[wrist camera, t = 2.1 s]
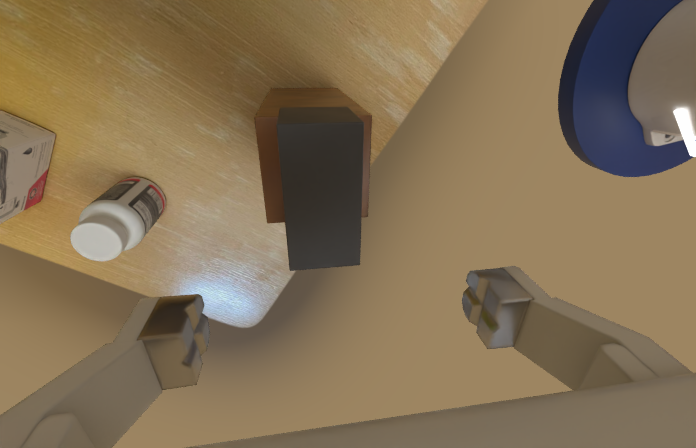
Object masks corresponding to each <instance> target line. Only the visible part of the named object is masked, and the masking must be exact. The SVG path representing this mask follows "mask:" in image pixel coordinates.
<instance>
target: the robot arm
mask: <svg viewBox="0 0 696 448" xmlns="http://www.w3.org/2000/svg"><path fill="white" fill-rule="evenodd" d="M628 102H629V107H630V110H631V112H632V114H633V115H634V117H635V118H636V119H637V120H638V122H639V123H640V124H641V126H642V128H643V136H644V140H645V143H646V144H647V145H652V146H661V145H665V144H669V143H673V142H677V141H681V140H685V143H686V146H687V148H688V151H689V154H690V156H694V157H696V142H695V140H696V0H683V1H681V2H680V3H679V4H677V5H676V6H675V7H674V8H672V9H671V10H670V11H669V12H668V13H667V14H666V15H665V16H664V17H663V18H662V19H661V20H660V21H659V22H658V24H657V25H656V26H655V27H654V28H653V30H652V31H651V32H650V34H649V35H648V37H647V38H646V40H645V41H644V43H643V45H642V47H641V48H640V50H639V52H638V54H637V57H636V59H635V61H634V64H633V67H632V70H631V73H630V77H629V83H628ZM694 139H695V140H694ZM466 282H467V284H468V285H469V287H468V288H467V289H466V290H465V291H464V293H463V298H462V304H463V310H464V312H465V315H466V317H467V319H468V320H469V322H471V323H473V324H474V325H476V326H477V334H478V336H479V337H480V339H481V340H482V342H483V343H484V345H485V346H486V347H487V349H495V348H506V347H514V348H515V349H516V350H517V351H519V352H520V353H522V354H523V355H524V356H526V357H527V358H529V359H530V360H532V361H533V362H534V363H536V364H537V365H539V366H540V367H541V368H543V369H544V370H546V371H547V372H548V373H550V374H551V375H552V376H554V377H556V378H557V379H558V380H559V381H561V382H562V383H564V384H565V385H567V386H568V387H569V388H571V389H572V390H574V391H567V392H560V393H554V394H547V395H541V396H533V397H526V398H519V399H513V400H506V401H499V402H492V403H486V404H479V405H472V406H465V407H459V408H452V409H446V410H438V411H432V412H425V413H418V414H411V415H404V416H397V417H391V418H384V419H377V420H370V421H364V422H357V423H351V424H343V425H336V426H329V427H322V428H316V429H309V430H302V431H295V432H288V433H282V434H275V435H268V436H262V437H254V438H248V439H241V440H234V441H227V442H220V443H214V444H207V445H200V446H193V447H186V448H696V373H693V372H691V371H690V370H689V369H688V368H686V367H685V366H684V365H682V363H680V362H679V361H678V360H677V359H675V358H674V357H673V356H672V355H670V354H669V353H668V352H667V351H665V350H664V349H663V348H662V347H660V346H659V345H658V344H656V343H655V342H654V341H653V340H652V339H650V338H649V337H647V336H644V335H642V334H640V333H637V332H635V331H633V330H630V329H628V328H626V327H623V326H621V325H619V324H616V323H614V322H612V321H609V320H607V319H605V318H603V317H600V316H597V315H596V314H593V313H591V312H589V311H586V310H584V309H581V308H579V307H577V306H575V305H572V304H570V303H567V302H565V301H563V300H561V299H558V298H551V297H550V296H549V295H548V294H547V293H545V291H543V290H542V289H541V288H540V287H539V286H538V285H537V284H536V283H535V282H534V281H533V280H532V279H531V278H530V277H529V276H528V275H527V274H525V273H524V272H523V271H522V270H521V269H520V268H518V267H516V266H510V267H502V268H496V269H485V270H474V271H470V272H469V273H468V275H467V279H466ZM203 308H204V302H203V299H202V296H201V295H199V294H195V295H180V296H165V297H154V298H143V299H141V300H140V301H138V303H137V304H136V306H135V308H134V309H133V311H132V312H131V314H130V316H129V317H128V319H127V320H126V322H125V324H124V325H123V327H122V329H121V330H120V332H119V333H118V335H117V336H116V338H115V340H114V341H113V343H109V344H105V345H103V346H102V347H101V348H99V349H98V350H96V351H95V352H93V353H92V354H90V355H89V356H87V357H86V358H84V359H83V360H81V361H80V362H78V363H77V364H75V365H74V366H72V367H71V368H70V369H68V370H67V371H65V372H64V373H62V374H61V375H59V376H58V377H56V378H55V379H53V380H52V381H50V382H49V383H47V384H46V385H44V386H43V387H42V388H40V389H39V390H37V391H36V392H34V393H33V394H31V395H30V396H28V397H27V398H25V399H24V400H22V401H21V402H19V403H18V404H16V405H15V406H13V407H12V408H10V409H9V410H7V411H6V412H4V413H3V414H2V415H0V448H112V447H113V446H114V445H115V444H116V443H117V441H118V440H119V439H120V438H121V437H122V436H123V435H124V434H125V433H126V432H127V430H128V429H129V428H130V427H131V426H132V425H133V424H134V423H135V422H136V420H137V419H138V418H139V417H140V416H141V415H142V414H143V413H144V412H145V411H146V410H147V408H148V407H149V406H150V405H151V404H152V403H153V402H154V401H155V399H156V398H157V397H158V396H159V395H160V394H161V393H162V390H166V389H173V388H179V387H186V386H193V385H197V382H198V378H199V375H200V371H201V368H202V364H203V363H202V359H201V355H202V354H203V353H204V352H205V351H206V350H207V347H208V343H209V334H210V330H209V322H208V317H207V316H205V315H204V314H203V313H202V311H203Z"/></svg>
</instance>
